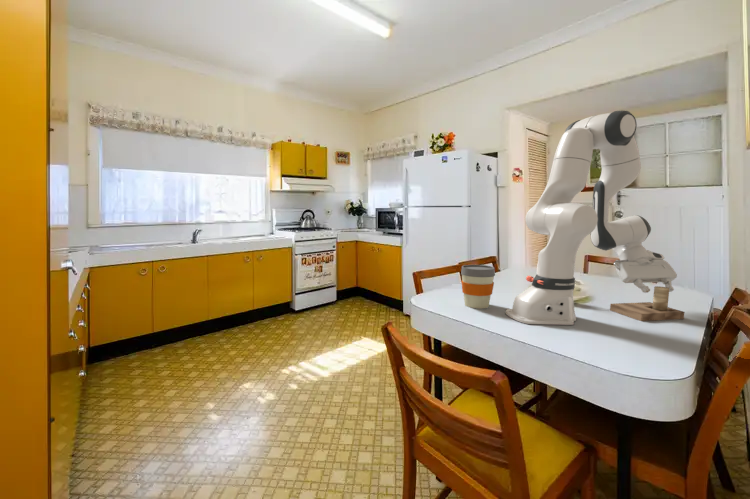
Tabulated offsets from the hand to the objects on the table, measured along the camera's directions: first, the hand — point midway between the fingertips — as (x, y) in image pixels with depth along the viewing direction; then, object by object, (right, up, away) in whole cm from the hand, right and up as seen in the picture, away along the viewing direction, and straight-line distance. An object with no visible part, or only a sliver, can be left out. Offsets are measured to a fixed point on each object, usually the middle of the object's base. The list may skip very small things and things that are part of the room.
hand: (659, 291), depth 118 cm
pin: (0, -8, 0) cm, 9 cm away
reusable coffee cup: (-60, -7, +13) cm, 62 cm away
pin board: (-4, -8, +1) cm, 9 cm away
